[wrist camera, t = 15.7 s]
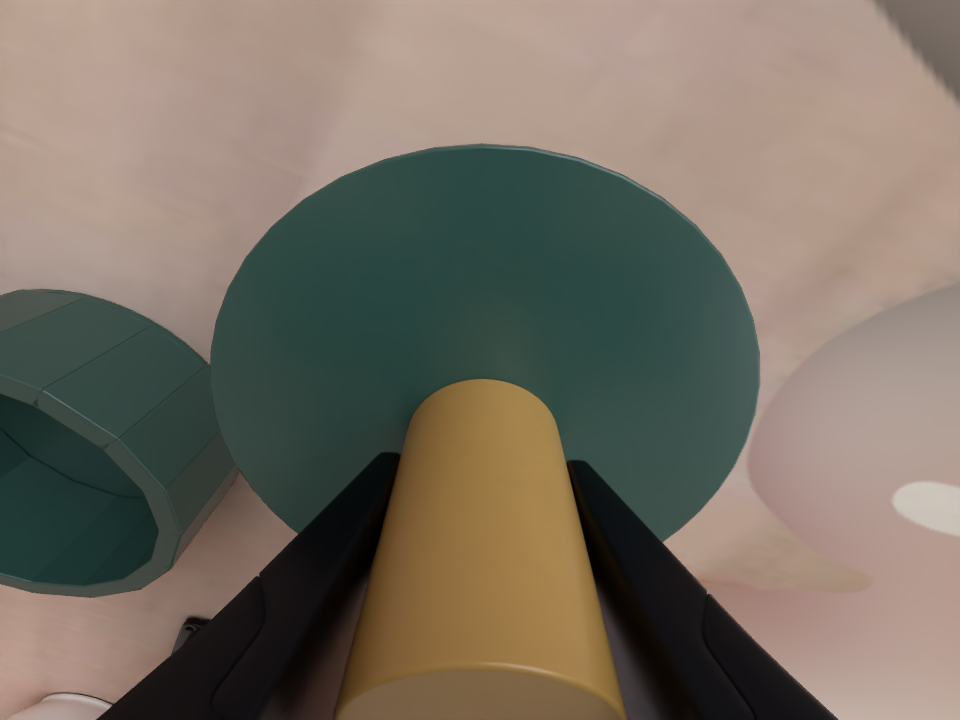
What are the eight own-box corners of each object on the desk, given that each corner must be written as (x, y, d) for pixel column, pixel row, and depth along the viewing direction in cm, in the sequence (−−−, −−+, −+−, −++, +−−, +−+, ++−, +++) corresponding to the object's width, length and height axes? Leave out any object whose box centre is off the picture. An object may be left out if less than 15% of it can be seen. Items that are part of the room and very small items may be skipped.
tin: (217, 531, 22) (153, 626, 18) (-33, 449, 19) (-177, 537, 15) (276, 372, 17) (207, 451, 13) (-51, 230, 14) (-274, 272, 10)
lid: (546, 602, 15) (584, 899, 9) (191, 476, 12) (-82, 795, 6) (853, 334, 9) (1422, 649, 4) (337, -20, 7) (-786, -1157, 1)
